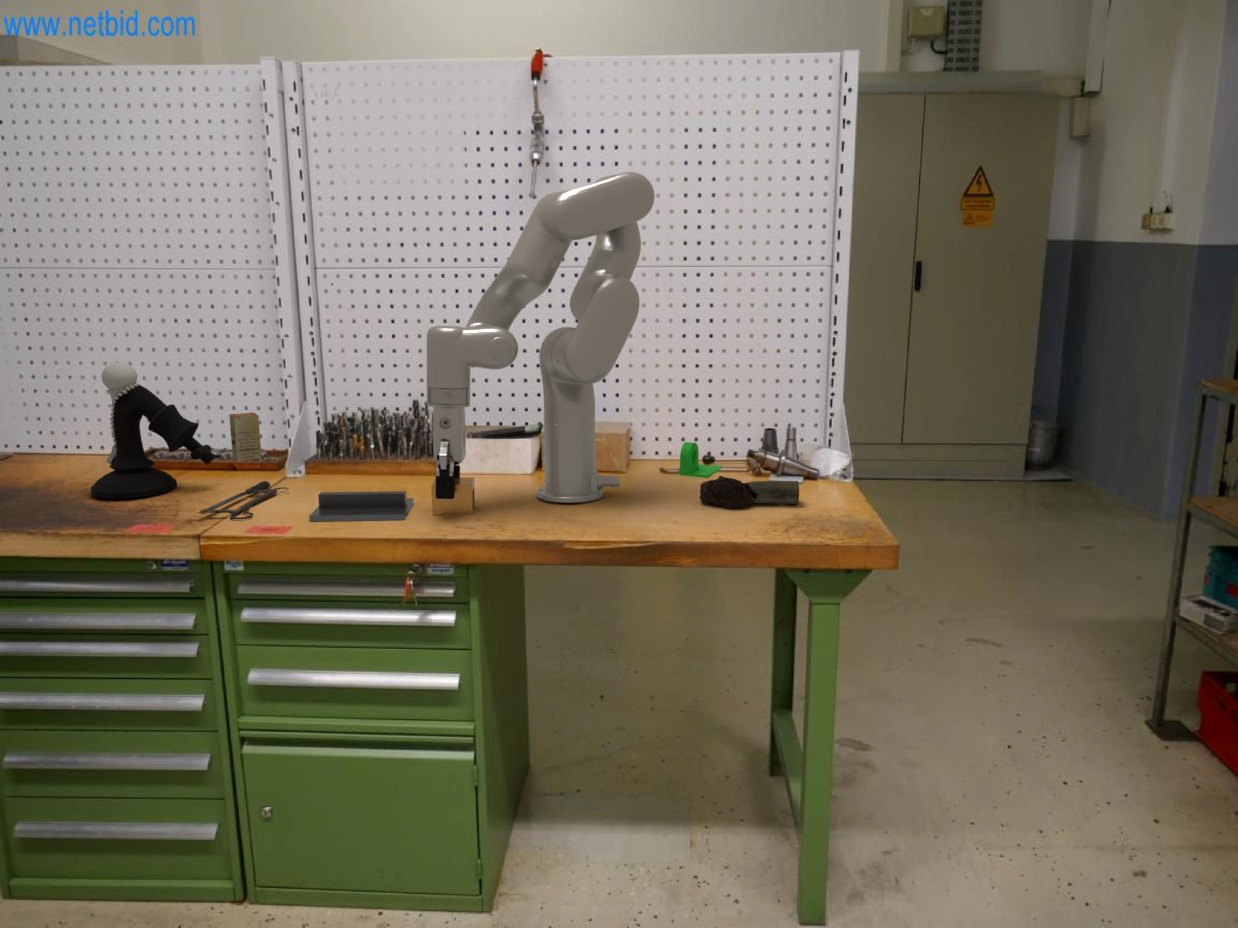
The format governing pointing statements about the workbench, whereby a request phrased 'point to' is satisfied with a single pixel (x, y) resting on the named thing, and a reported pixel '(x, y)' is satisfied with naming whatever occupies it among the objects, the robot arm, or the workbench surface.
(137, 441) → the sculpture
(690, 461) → the mechanical part
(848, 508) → the workbench surface
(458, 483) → the tan wooden block
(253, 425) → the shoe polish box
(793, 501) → the dark elongated piece
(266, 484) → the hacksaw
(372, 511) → the rail
